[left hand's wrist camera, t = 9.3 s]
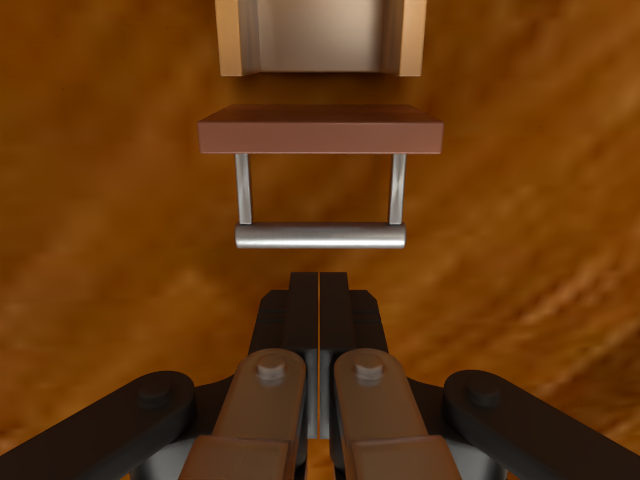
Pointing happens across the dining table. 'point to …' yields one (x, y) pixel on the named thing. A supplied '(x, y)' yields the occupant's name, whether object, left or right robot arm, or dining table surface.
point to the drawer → (320, 120)
